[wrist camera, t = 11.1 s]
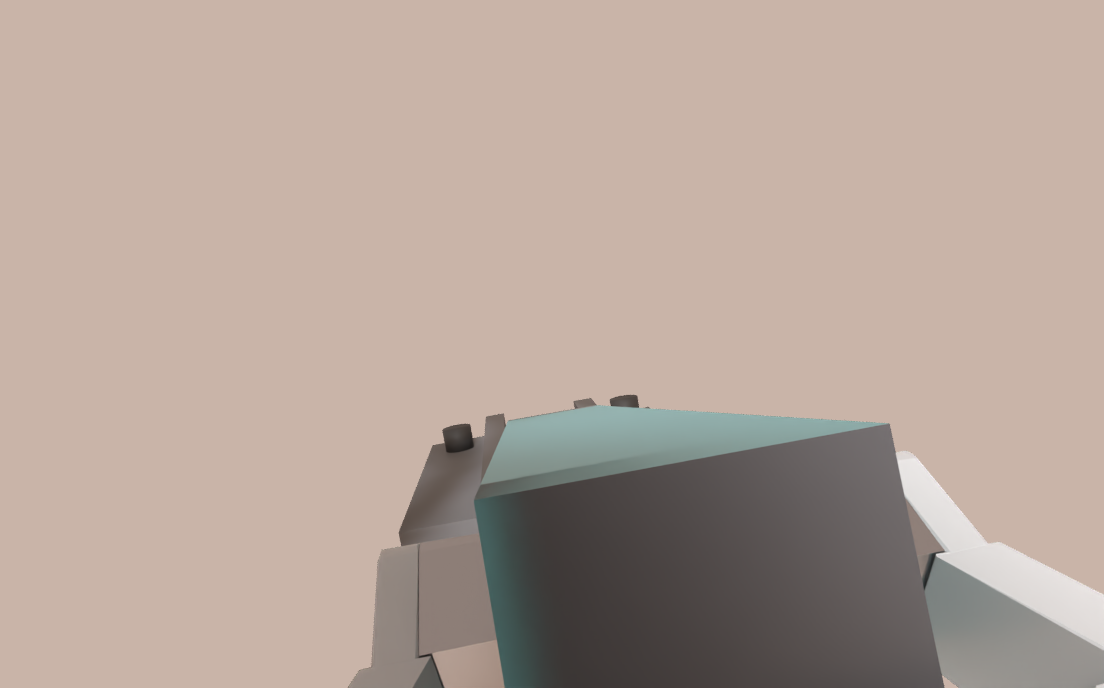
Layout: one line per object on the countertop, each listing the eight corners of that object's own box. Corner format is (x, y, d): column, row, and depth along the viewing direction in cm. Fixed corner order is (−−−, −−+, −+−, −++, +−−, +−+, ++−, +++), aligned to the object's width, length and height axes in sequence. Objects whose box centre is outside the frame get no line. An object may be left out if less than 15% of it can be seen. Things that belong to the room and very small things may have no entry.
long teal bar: (548, 954, 6) (473, 500, 7) (523, 508, 32) (508, 420, 32) (979, 856, 7) (890, 422, 7) (610, 492, 32) (595, 404, 33)
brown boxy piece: (497, 1051, 34) (392, 502, 32) (497, 797, 51) (429, 425, 49) (799, 982, 35) (722, 442, 33) (701, 755, 52) (645, 387, 49)
